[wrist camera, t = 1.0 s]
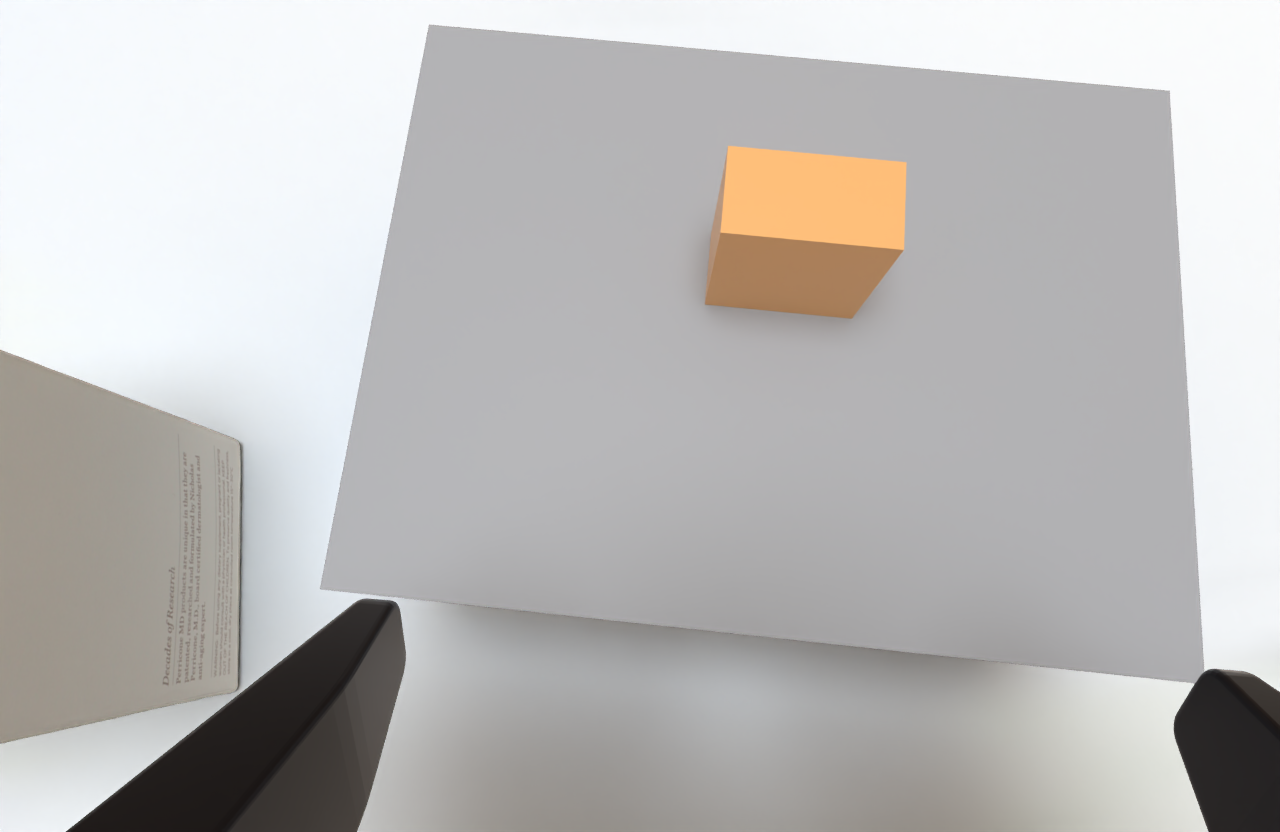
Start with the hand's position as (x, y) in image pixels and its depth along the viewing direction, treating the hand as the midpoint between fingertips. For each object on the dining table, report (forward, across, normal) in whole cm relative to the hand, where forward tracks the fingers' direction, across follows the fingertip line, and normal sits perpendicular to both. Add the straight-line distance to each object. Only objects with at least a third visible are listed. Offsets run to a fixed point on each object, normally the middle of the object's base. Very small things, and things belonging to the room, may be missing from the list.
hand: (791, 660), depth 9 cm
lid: (+9, -1, 0) cm, 9 cm away
